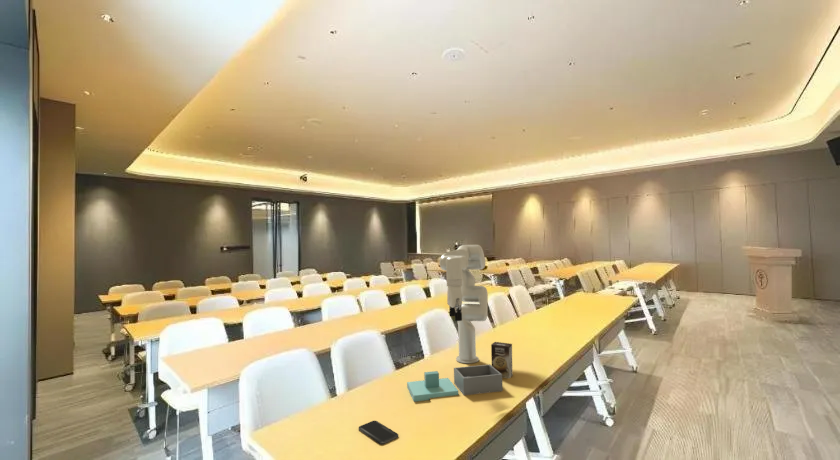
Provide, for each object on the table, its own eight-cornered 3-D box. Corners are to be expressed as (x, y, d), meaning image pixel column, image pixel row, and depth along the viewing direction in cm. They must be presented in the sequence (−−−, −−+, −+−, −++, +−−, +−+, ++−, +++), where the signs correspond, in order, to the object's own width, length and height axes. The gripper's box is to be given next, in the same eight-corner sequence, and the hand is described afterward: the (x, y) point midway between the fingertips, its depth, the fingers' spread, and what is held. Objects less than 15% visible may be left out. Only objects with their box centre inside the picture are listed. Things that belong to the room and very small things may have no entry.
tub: (454, 385, 175) (453, 367, 175) (490, 381, 178) (489, 364, 179) (463, 397, 161) (463, 378, 161) (502, 392, 165) (502, 374, 165)
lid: (407, 387, 173) (406, 369, 173) (448, 383, 177) (447, 365, 177) (413, 401, 158) (413, 381, 158) (458, 396, 162) (458, 376, 162)
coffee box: (491, 377, 183) (490, 344, 184) (495, 373, 189) (494, 341, 189) (509, 380, 179) (508, 346, 180) (513, 376, 185) (512, 343, 185)
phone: (381, 443, 124) (357, 427, 135) (381, 446, 124) (357, 430, 135) (399, 434, 129) (375, 419, 141) (400, 438, 129) (375, 422, 141)
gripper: (442, 280, 187) (443, 314, 187) (451, 285, 170) (452, 323, 170) (456, 280, 188) (458, 313, 188) (467, 284, 171) (468, 322, 171)
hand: (455, 318), depth 179 cm, fingers open, 9 cm apart
